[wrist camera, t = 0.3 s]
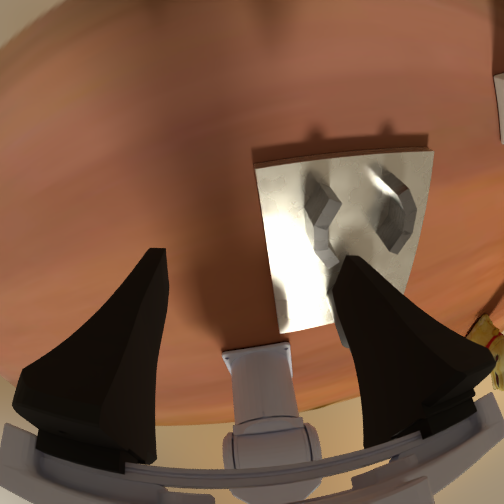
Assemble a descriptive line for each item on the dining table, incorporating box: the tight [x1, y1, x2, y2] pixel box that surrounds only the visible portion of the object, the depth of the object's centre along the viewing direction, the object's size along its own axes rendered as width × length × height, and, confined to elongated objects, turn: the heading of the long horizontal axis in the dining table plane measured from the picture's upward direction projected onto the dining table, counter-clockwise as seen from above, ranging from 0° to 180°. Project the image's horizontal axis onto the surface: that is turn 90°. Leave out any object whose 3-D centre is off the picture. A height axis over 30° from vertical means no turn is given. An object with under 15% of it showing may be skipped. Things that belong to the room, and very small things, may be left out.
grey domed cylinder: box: [326, 284, 351, 352], centre depth 24 cm, size 5×4×5 cm
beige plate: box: [254, 147, 434, 334], centre depth 23 cm, size 18×14×4 cm
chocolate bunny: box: [466, 314, 504, 391], centre depth 34 cm, size 7×11×15 cm, turn 7°
